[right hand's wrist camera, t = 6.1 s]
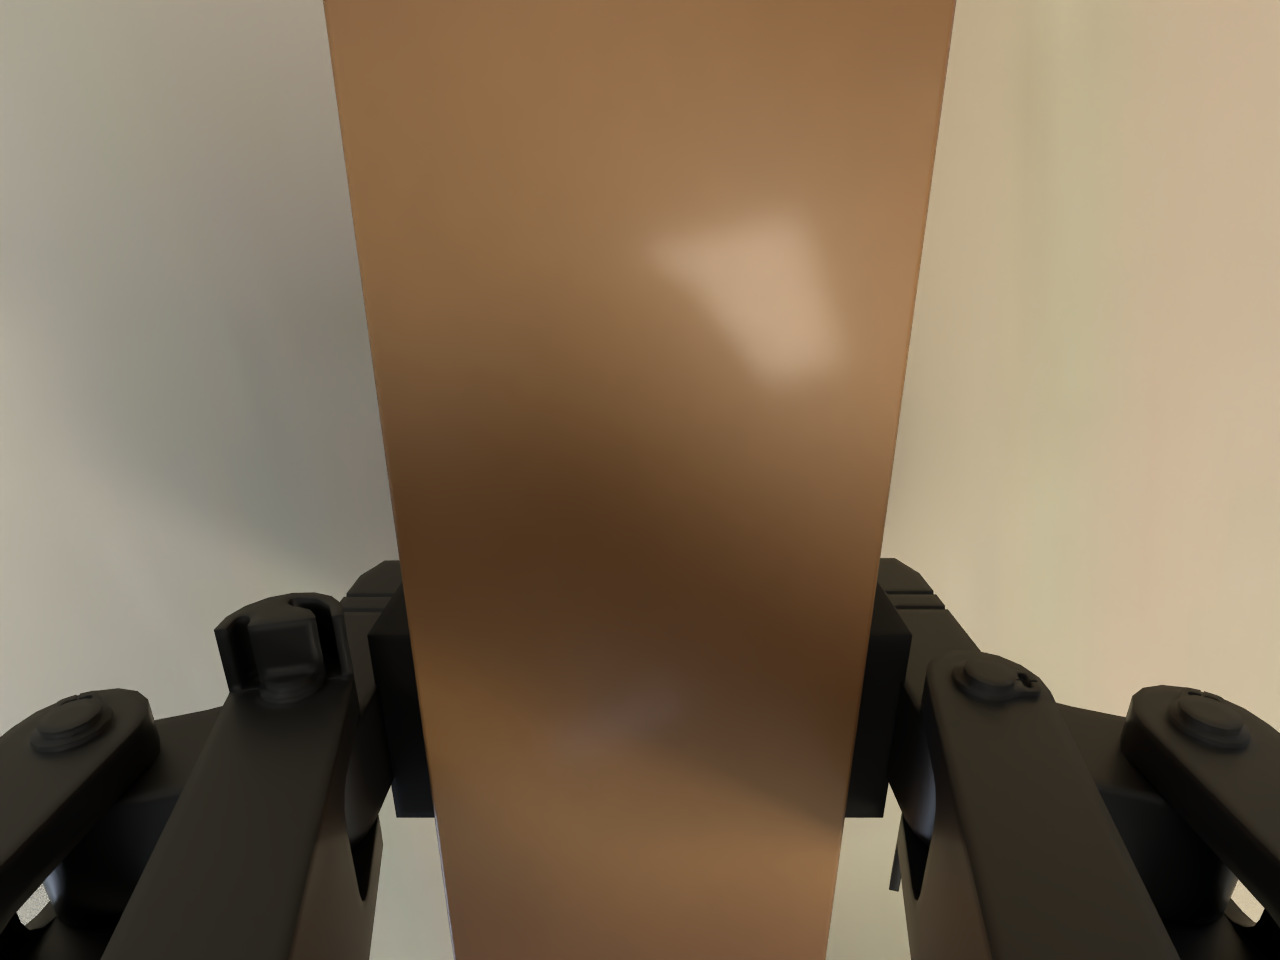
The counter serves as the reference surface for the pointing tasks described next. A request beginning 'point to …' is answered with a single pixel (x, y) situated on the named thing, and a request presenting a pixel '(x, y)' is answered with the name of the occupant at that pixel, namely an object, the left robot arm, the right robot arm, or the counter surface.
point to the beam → (639, 438)
